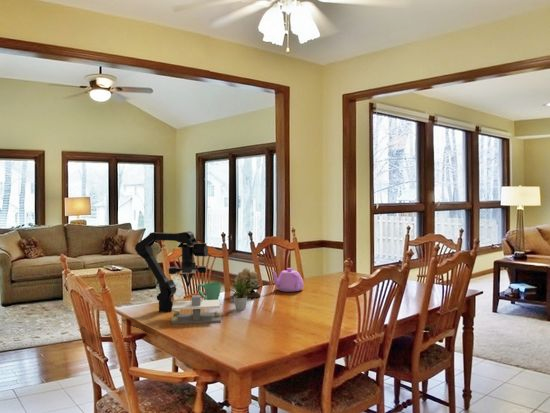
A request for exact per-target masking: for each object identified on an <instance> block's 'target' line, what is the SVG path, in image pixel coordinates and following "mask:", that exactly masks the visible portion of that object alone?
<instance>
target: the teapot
mask: <svg viewBox="0 0 550 413" xmlns="http://www.w3.org/2000/svg"><path fill="white" fill-rule="evenodd" d="M271 273H272V274H273V283H274V285H275V287H276V288H277V289H278V291H281V292H286V293H290V292H293V293H294V292H299V291H302V290H303V288H304V280H303V278H302V275H301V274H300V272H298V271H297V270H293V267H287V268H286V270H284V269H283V270H281V272H280V274H279V275H278V274H277V272H276V271H274V270H271Z"/></svg>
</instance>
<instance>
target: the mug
mask: <svg viewBox="0 0 550 413" xmlns="http://www.w3.org/2000/svg"><path fill="white" fill-rule="evenodd" d="M202 288H203V289H204V292H203V291H202V290H201V289H202ZM221 289H222V284H221V282H206V283H199V284H198V286H197V292H198V295H201V298H202V299H203V300H219V298H220V294H221Z"/></svg>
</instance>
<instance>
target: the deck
mask: <svg viewBox="0 0 550 413" xmlns="http://www.w3.org/2000/svg"><path fill="white" fill-rule="evenodd" d="M193 309H200V310H207V309H209V310H211V309H220V299H218V300H206V299H203V298H202V296H201V295H200V294H192V295H191V300H175V301H174V302H173V306H172V311H174V310H180V311H182V310H183V311H185V310H193Z"/></svg>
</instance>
